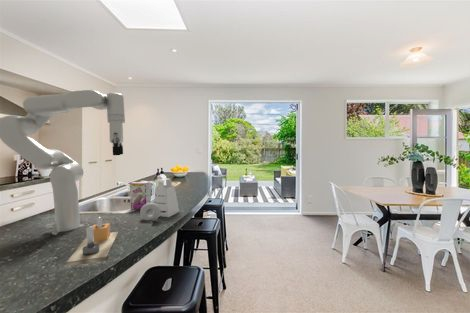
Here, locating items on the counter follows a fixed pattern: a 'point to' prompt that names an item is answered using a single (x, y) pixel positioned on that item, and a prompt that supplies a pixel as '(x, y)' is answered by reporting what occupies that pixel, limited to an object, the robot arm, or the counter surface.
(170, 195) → the grater
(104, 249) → the board
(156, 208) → the donut
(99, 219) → the stand rod
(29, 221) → the counter surface
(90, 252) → the metal peg
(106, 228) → the collar
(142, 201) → the candy bar box
